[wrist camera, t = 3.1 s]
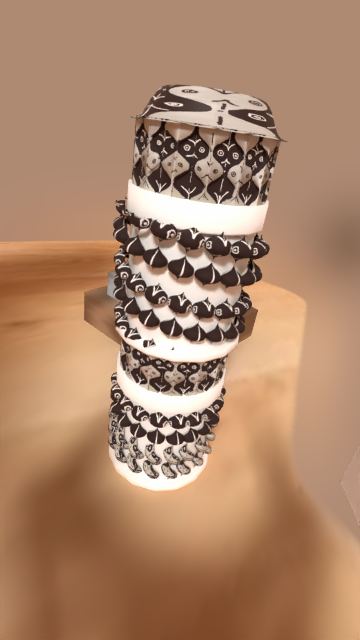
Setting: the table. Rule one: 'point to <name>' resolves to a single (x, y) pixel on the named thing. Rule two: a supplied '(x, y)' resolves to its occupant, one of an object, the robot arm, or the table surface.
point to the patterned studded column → (185, 274)
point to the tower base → (104, 302)
